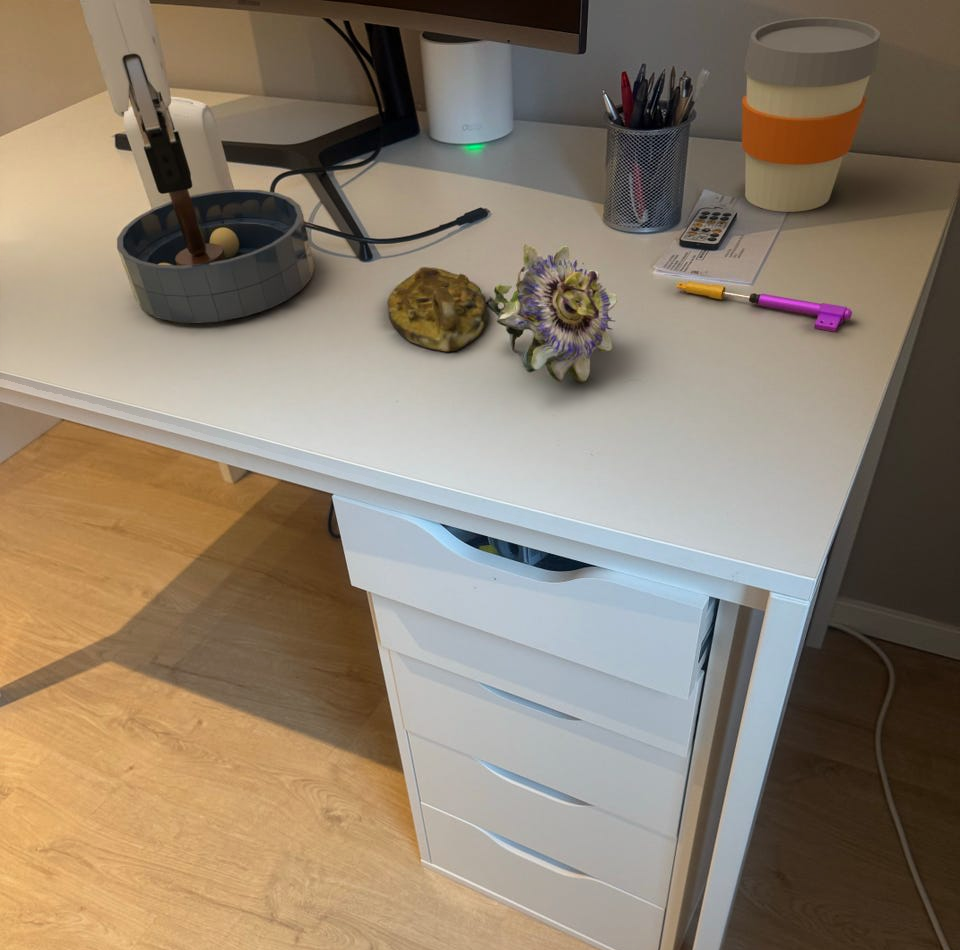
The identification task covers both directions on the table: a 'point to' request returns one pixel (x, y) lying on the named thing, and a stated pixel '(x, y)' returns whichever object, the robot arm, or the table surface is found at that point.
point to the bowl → (223, 284)
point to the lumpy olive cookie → (438, 309)
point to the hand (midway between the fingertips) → (175, 183)
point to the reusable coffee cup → (803, 107)
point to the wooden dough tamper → (192, 234)
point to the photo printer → (185, 149)
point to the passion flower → (556, 314)
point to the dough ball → (225, 241)
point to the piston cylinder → (779, 304)
